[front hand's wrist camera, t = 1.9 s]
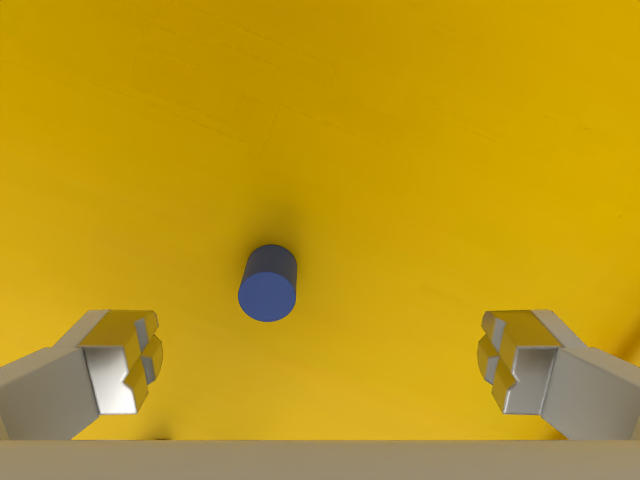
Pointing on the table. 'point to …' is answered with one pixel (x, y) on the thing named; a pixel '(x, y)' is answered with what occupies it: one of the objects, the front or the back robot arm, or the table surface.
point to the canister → (269, 284)
